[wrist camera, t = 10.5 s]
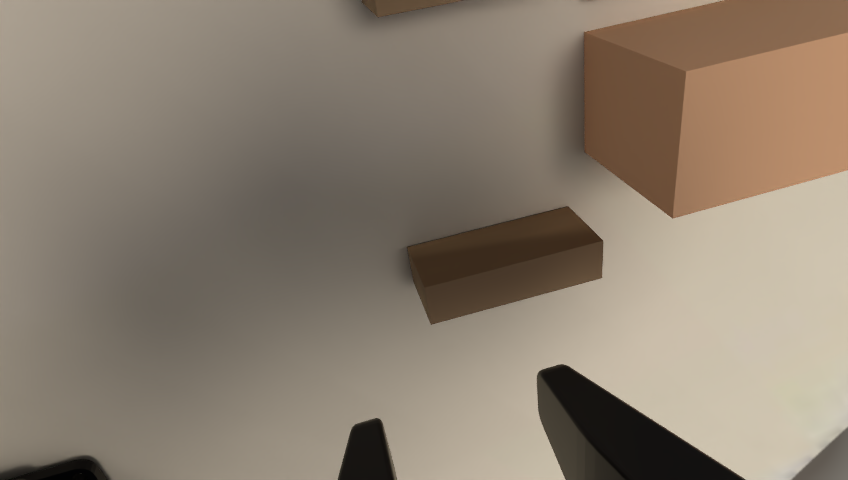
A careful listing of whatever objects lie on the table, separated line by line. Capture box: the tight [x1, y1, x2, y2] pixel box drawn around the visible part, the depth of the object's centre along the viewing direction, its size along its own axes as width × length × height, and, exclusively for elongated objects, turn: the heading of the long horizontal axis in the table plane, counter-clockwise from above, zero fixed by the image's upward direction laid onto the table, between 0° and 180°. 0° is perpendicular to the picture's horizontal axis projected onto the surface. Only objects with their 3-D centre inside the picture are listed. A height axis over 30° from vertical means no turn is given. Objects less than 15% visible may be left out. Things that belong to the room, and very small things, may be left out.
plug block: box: [584, 0, 848, 218], centre depth 17 cm, size 4×8×5 cm, turn 100°
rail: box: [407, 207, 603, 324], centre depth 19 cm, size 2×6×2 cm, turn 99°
